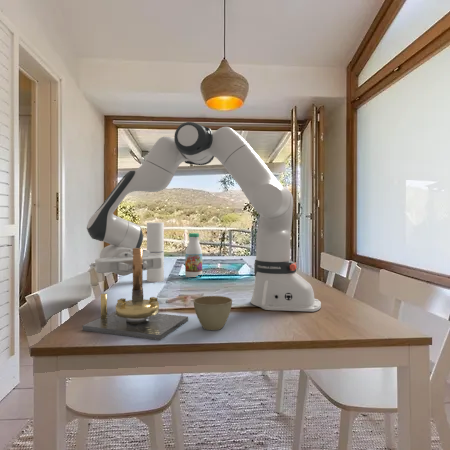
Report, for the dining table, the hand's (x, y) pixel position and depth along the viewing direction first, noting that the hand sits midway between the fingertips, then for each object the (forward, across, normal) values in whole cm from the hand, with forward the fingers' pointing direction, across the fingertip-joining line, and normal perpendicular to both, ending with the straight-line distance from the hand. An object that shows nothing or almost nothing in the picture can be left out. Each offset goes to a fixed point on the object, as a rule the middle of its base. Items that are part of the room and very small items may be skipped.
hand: (137, 267), depth 107 cm
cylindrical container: (-45, +24, +14) cm, 52 cm away
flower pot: (+23, +12, +14) cm, 29 cm away
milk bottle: (-44, +42, +14) cm, 63 cm away
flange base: (+12, -4, +14) cm, 18 cm away
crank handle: (+7, -3, +10) cm, 13 cm away
